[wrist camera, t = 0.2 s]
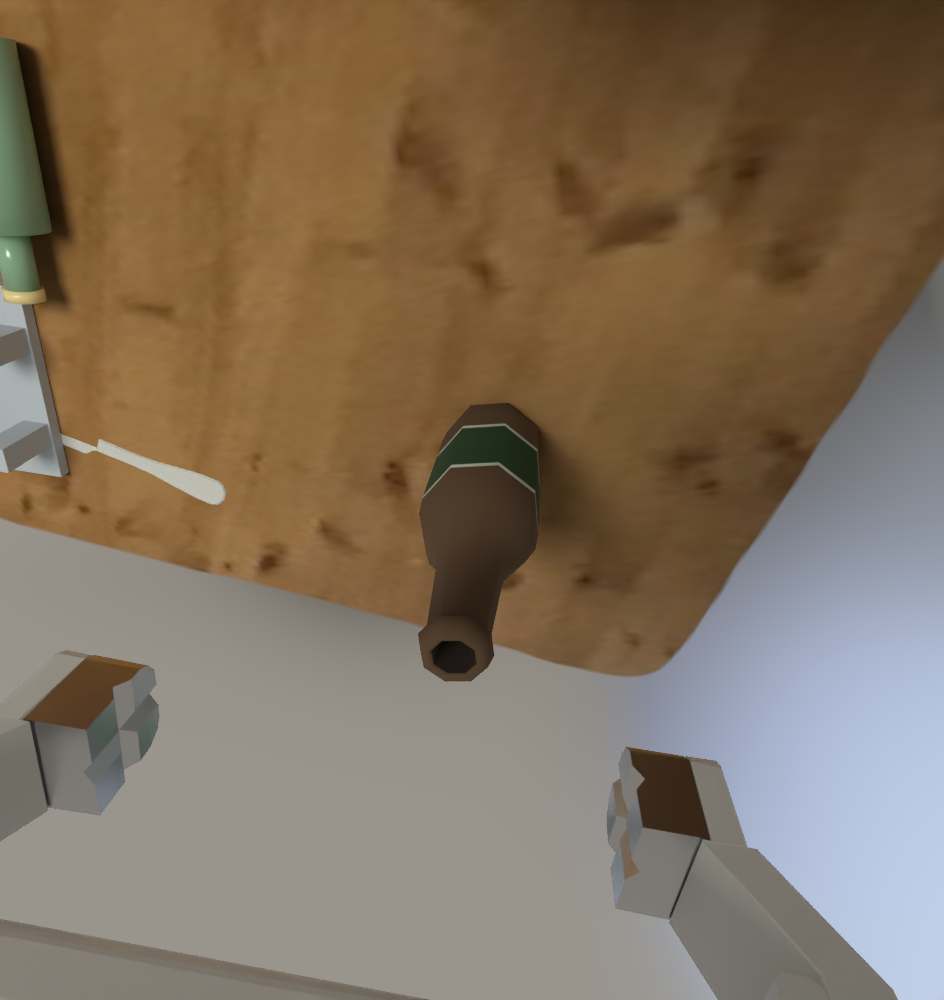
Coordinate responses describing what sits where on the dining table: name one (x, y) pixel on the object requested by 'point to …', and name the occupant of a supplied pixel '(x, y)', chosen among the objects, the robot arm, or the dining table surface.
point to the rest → (26, 398)
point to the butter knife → (159, 470)
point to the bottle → (19, 186)
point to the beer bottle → (477, 532)
